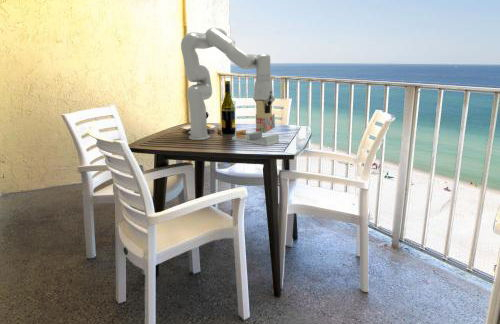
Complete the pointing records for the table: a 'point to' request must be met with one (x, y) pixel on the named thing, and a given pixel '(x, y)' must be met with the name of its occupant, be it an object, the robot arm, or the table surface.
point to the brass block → (262, 109)
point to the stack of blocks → (265, 124)
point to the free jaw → (249, 134)
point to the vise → (259, 140)
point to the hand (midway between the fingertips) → (263, 112)
